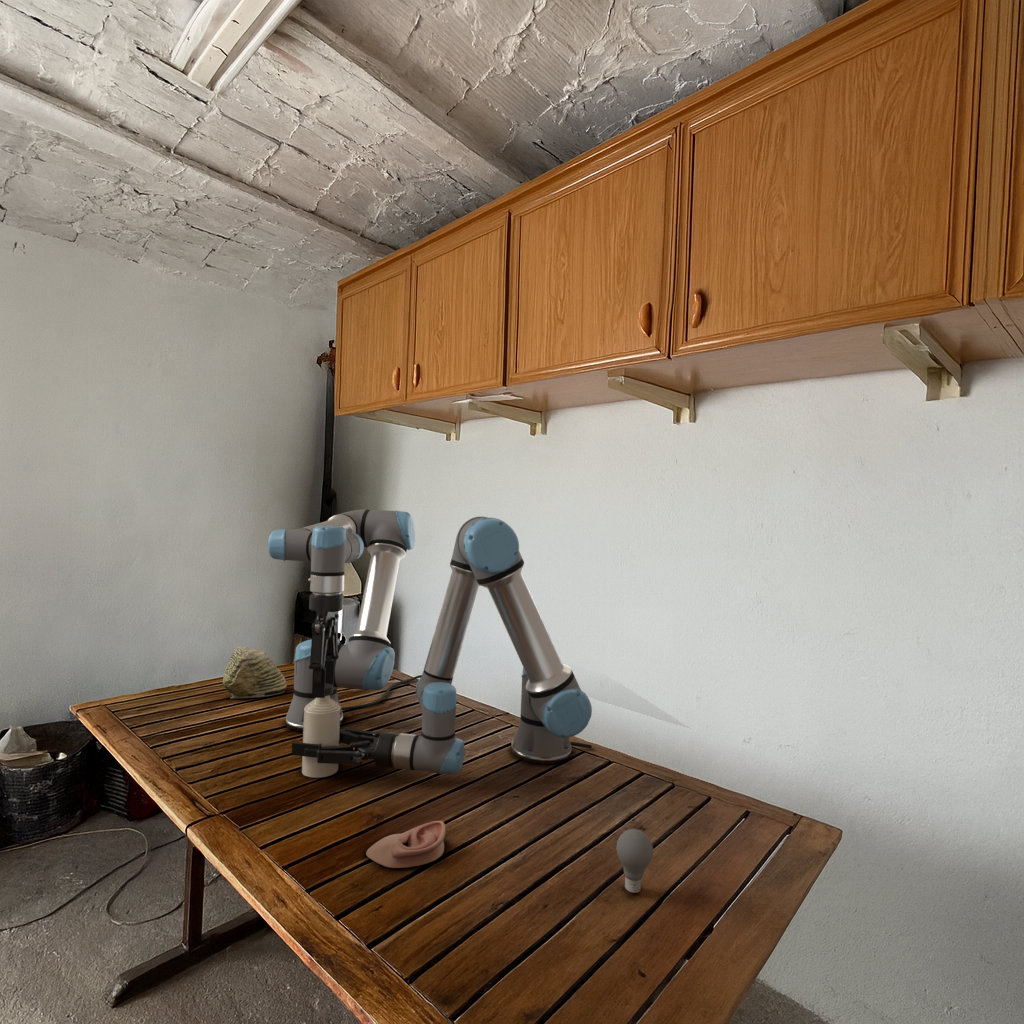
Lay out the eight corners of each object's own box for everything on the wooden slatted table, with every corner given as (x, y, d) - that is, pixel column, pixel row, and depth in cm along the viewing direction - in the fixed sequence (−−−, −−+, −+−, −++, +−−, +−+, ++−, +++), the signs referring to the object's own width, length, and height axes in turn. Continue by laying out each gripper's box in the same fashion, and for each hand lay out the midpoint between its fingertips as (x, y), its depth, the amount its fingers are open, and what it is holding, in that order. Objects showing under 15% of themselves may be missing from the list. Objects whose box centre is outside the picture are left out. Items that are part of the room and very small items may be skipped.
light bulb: (610, 879, 108) (613, 822, 108) (644, 879, 109) (647, 822, 109) (619, 902, 102) (622, 840, 102) (655, 901, 103) (658, 840, 103)
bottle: (345, 768, 148) (348, 687, 148) (320, 780, 141) (323, 696, 141) (319, 760, 152) (322, 681, 152) (293, 772, 145) (297, 689, 145)
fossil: (218, 695, 195) (220, 647, 195) (278, 685, 208) (279, 640, 207) (228, 703, 189) (230, 653, 188) (289, 692, 201) (290, 645, 201)
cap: (314, 697, 143) (314, 689, 143) (311, 691, 147) (312, 684, 147) (334, 695, 145) (334, 687, 145) (331, 689, 149) (331, 682, 149)
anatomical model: (359, 840, 110) (385, 809, 121) (358, 862, 110) (384, 829, 121) (431, 852, 107) (451, 819, 119) (431, 875, 107) (451, 840, 119)
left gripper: (322, 586, 156) (319, 679, 156) (296, 598, 136) (292, 705, 136) (353, 587, 156) (349, 680, 156) (331, 600, 136) (327, 706, 136)
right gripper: (379, 787, 134) (278, 776, 137) (409, 749, 154) (320, 740, 158) (380, 752, 134) (279, 741, 137) (410, 718, 154) (322, 710, 157)
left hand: (323, 692), depth 146 cm, fingers open, 7 cm apart
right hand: (301, 741), depth 147 cm, fingers closed on bottle, 8 cm apart
